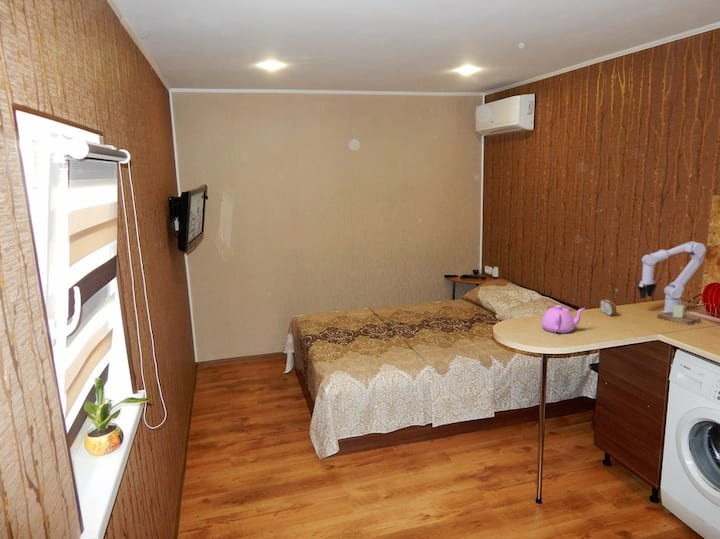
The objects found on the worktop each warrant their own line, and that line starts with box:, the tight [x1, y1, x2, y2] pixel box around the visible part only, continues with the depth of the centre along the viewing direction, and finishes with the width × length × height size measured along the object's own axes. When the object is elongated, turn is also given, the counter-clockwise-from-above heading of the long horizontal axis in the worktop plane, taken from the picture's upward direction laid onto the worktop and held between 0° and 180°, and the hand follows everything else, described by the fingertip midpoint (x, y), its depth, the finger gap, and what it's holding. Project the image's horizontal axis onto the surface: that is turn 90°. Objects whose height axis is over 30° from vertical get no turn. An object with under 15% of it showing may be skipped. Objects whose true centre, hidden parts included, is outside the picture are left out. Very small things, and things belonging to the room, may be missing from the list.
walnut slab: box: [657, 312, 701, 326], centre depth 268 cm, size 11×17×3 cm, turn 23°
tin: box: [600, 298, 617, 317], centre depth 286 cm, size 15×3×8 cm, turn 179°
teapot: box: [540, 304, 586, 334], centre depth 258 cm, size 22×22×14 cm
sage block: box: [673, 304, 686, 318], centre depth 268 cm, size 4×4×6 cm
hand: (646, 296), depth 286 cm, fingers open, 7 cm apart
